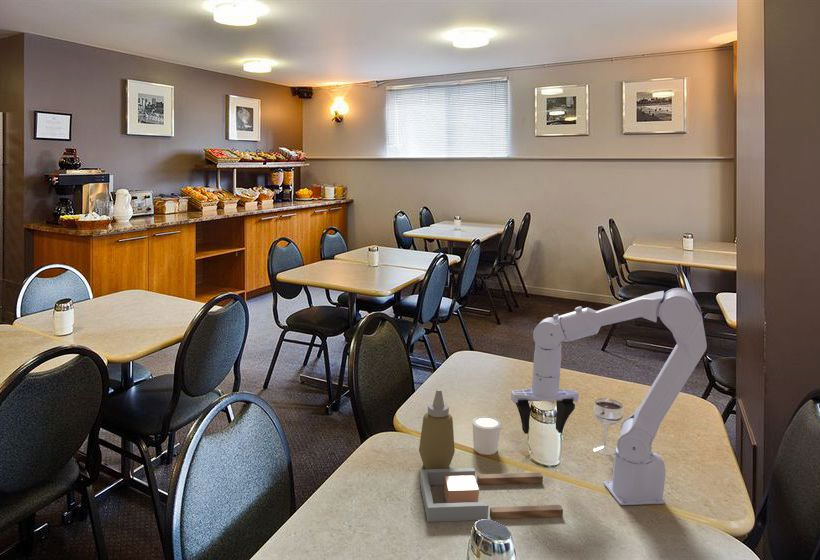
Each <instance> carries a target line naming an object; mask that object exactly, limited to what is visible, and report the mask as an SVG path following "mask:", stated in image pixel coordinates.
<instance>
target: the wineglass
mask: <svg viewBox="0 0 820 560" xmlns="http://www.w3.org/2000/svg"><path fill="white" fill-rule="evenodd" d="M593 403H594V406H592V407H593V408H592V411H593V412H592V413H593V417H594V418H595V419H596V420H597V421H598V422H599V423H600V424H602V425H603V426H604V432H603V433H604V434H603V435H604V436H603V444H596V445H594V446H593V451H594V452H596V453H597V454H600V455H604V456H613V455H615V449H614V448H612V447H610V446H608V445H607V438H608V430H609V427H610V426H614V425H617V424H618V423H619V422H621V420H622V418H624V417H623V415H624V412H623V409H624V404H623V403H622V402H620V401H618V400H617V399H616V400H615V399H612V398H607V397H601V398H600V397H599V398H595V399H594V401H593Z"/></svg>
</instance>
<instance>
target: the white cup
mask: <svg viewBox="0 0 820 560" xmlns="http://www.w3.org/2000/svg"><path fill="white" fill-rule="evenodd" d="M471 421H472V438H473V440H472V441H473V450H474V451H475V452H476V453H478V454H480V455H484V456H485V455H487V456H490V455H494V454H495V453H497V451H498V447H499V442H500V441H499V440H500V435H501V434H500V432H501V428H502V423H501V420H499V419H498V418H495V417H493V416H485V415H484V416H483V415H481V416H476V417H474V418H473V420H471Z"/></svg>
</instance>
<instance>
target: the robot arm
mask: <svg viewBox="0 0 820 560" xmlns="http://www.w3.org/2000/svg"><path fill="white" fill-rule="evenodd" d="M658 317H659V319H660V321H661V322H662V324H664V326H665V327H667V329H669V331H670V332H671V334H672V337H673V339H674V340H675V342H676V344H675V346H674V348H673V349H672V351H671V353H670V354H669V356H668V358H667V360H665V362H664V364H663V366H662V368H661V369H660V371H659V373H658V374H657V376H656V378H655V379H654V381H653V382H652V384H651V386H650V388H649V390H648V391H647V393H646V394H645V396H644V398H643V399H642V401H641V402H640V405H639V406H638V407H636V409H635V410H634V412H633V413H632V414H631V415H630V416H629V415H628V417H627V416H626V418H624V419H623V421H622V422H621V425H620V433H619V437H618V439H617V442H616V446H615V449H614V450H615V453H614V460H613V469H612V476H611V480H604V481H603V485H604V486H605V487H606V489H607V490H608V491H609V493H610V494H611V495H612V496H613V497H614V500H616V502H617V503H618V505H621V506H632V505H663V504H665V500H664V498H663V497H664V491H665V484H666V483H665V482H666V465H665V462H664V460H663V458H662V457H661V455H660V454H659V453H658V452H652V451H653V450H652V447H653V446H652V444H653V441H654V440H655V438H656V436H657V434H658V430H659V428H660V425H661V424H662V422H663V420H664V418H665V417H666V416H667V414H668V412H669V411H670V409H671V408H672V405H673V404H674V402H675V400H676V399H677V397H678V396H679V394H680V392H681V391H682V389H683V388H684V386H685V384H686V383H687V381H688V379H689V378H690V377H691V375H692V373H693V372H694V370H695V368H696V367H697V365H698V364H699V362H700V360H701V358H702V357H703V355H704V353H705V352H706V351H707V348H708V344H707V338H706V331H705V327H704V320H703V315H702V310H701V307H700V305H699V303H698V301H697V299H696V298H695V296H694V295H693V293H692V292H690V291H689V290H687V289H685V288H682V287H675V288H673V287H672V288H671V289H668V290H667V291H664V290H660V291H655V292H652V293H648V294H644V295H641V296H638V297H635V298H632V299H629V300H626V301H623V302H620V303H616V304H613V305H611V306H608V307H605V308H602V309H599V310H595V309H593V308H590V307H584V308H583V307H582V306H580V305H579V306H577V307H575V308H574V311H570V312H567V313H564V314H559V313H556V314H553V316H552V317H546V318H543V319H542V320H541V321H540V322H539V323H538V324H537V325H536V326H535V328H534V330H533V333H532V339H533V342H534V343H535V345H534V353H533V363H532V364H533V365H532V367H533V368H532V382H531V383H532V384H531V388H525V389H519V390H510V391H511V392H510V400H511V401H512V403H514V404H515V405H516V409H517V410H518V413H519V417H520V420H521V421H520V422H521V428H522V429H521V430H522V431H523V433H524V434H527V435H528V434H529V430H530V417H531V413H532V407H531V405H530V403H529V402H555V404H556V416H555V430H556V432H557V433H559V434H561V433H563V430H564V427H565V425H566V423H567V421H568V419H569V417H570V415H571V414H572V412H573V411H574V410H575V408H576V404H575V403H578V402H579V392H578V391H577V390H575V389H565V388H564V389H562V388H560V382H561V381H560V380H561V379H560V377H561V369H562V367H561V365H562V364H561V363H562V342H567V343H568V342H572V341H576V340H579V339H580V340H581V339H583V338H586V337H587V338H588V337H591V336H595V335H597V334H598V333H599V331H600V329H601V327H604V326H607V325H608V326H609V325H613V324H617V323H621V322H626V321H631V320H634V319H638V318H643V319H646V320H649V321H651V322H653V323H658V322H657V321H658Z"/></svg>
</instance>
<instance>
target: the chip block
mask: <svg viewBox="0 0 820 560" xmlns="http://www.w3.org/2000/svg"><path fill="white" fill-rule="evenodd" d="M478 486H479V485H478V482H477V479H476V478H474V475H472V476H445V485H444V489H443V490H444V491H443V493H444V497H445V501H446V502H445V503H465V502H479V493H480V491H479V490H480V489H479V487H478Z"/></svg>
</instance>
